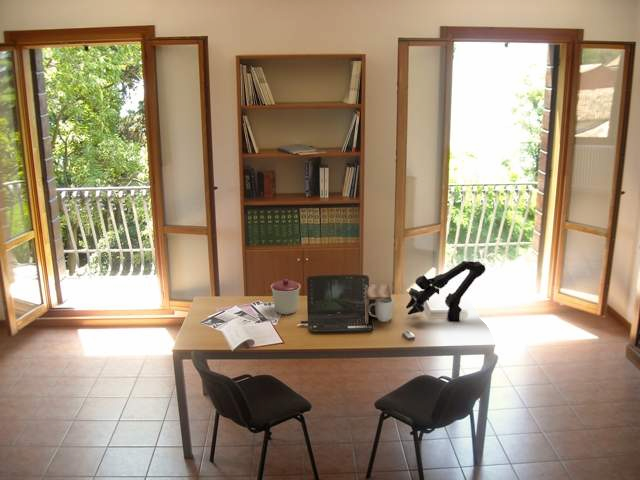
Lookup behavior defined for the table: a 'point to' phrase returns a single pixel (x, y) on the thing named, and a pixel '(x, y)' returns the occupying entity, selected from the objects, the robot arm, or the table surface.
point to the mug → (383, 309)
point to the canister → (285, 296)
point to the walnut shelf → (375, 297)
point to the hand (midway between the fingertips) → (407, 311)
